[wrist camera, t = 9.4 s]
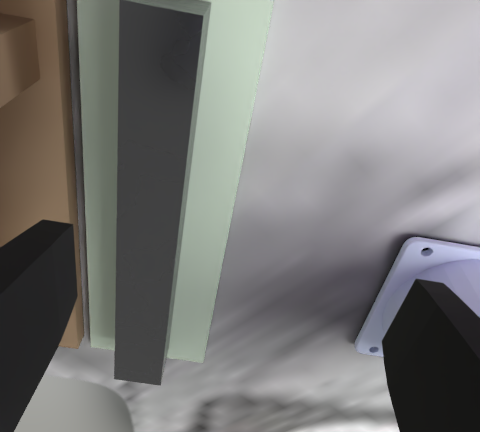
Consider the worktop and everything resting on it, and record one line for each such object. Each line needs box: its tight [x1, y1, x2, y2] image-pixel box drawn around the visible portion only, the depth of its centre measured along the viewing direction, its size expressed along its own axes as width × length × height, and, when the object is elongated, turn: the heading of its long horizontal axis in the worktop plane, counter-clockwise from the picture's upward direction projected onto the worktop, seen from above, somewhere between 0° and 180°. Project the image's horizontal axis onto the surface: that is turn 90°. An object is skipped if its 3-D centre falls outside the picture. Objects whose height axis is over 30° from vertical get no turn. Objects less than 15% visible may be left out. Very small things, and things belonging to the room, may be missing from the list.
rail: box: [114, 0, 211, 385], centre depth 18 cm, size 2×18×2 cm, turn 170°
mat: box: [77, 0, 274, 363], centre depth 19 cm, size 6×20×1 cm, turn 170°
